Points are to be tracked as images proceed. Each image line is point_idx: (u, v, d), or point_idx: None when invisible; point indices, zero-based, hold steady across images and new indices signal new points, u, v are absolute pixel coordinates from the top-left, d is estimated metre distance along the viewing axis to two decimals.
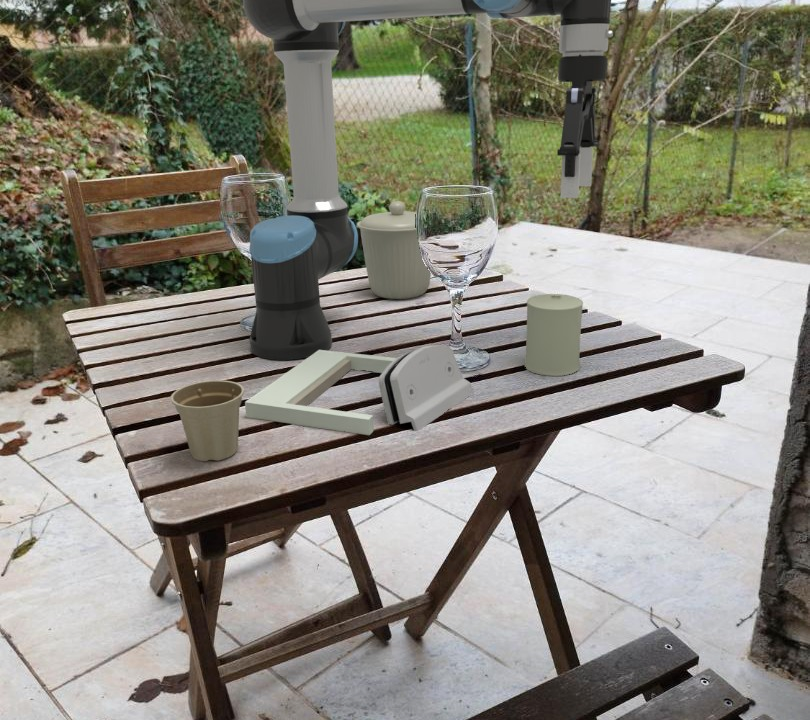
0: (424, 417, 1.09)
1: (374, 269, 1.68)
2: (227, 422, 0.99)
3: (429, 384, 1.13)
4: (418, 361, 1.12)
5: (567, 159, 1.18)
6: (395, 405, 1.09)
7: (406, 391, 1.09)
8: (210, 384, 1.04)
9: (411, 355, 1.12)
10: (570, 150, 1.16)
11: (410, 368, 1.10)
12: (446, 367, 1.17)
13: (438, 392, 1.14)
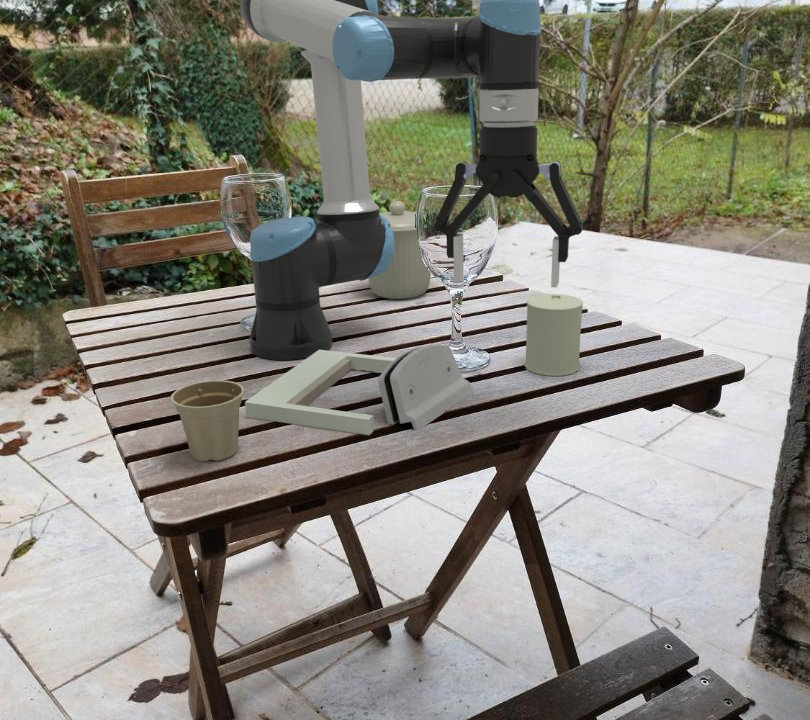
0: (424, 417, 1.09)
1: None
2: (227, 422, 0.99)
3: (429, 384, 1.13)
4: (418, 361, 1.12)
5: None
6: (395, 405, 1.09)
7: (406, 391, 1.09)
8: (210, 384, 1.04)
9: (411, 355, 1.12)
10: None
11: (409, 368, 1.10)
12: (445, 366, 1.17)
13: (438, 392, 1.15)
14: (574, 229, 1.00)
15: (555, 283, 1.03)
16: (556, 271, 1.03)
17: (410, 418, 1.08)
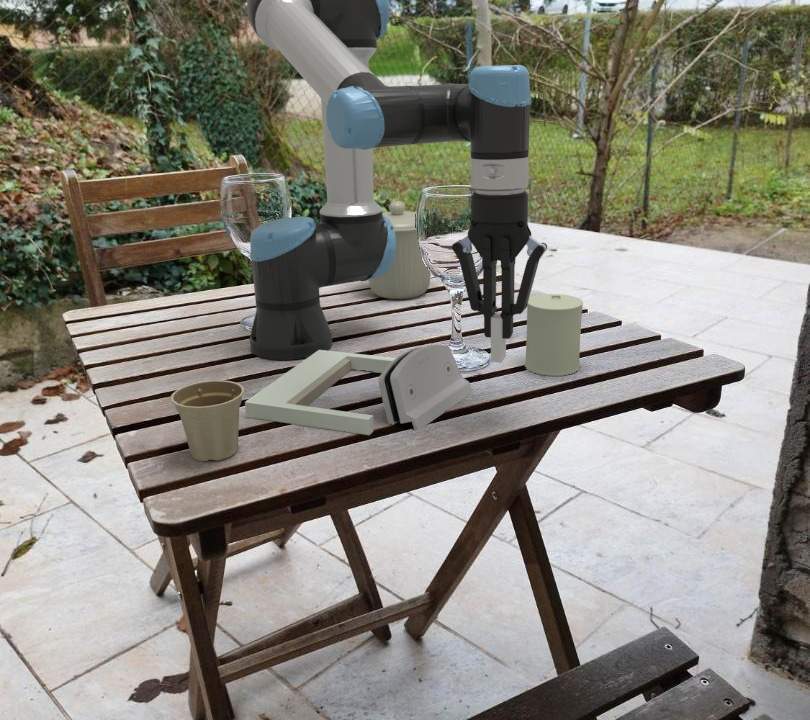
0: (424, 416, 1.09)
1: None
2: (227, 422, 0.99)
3: (429, 384, 1.13)
4: (418, 361, 1.12)
5: None
6: (395, 405, 1.09)
7: (406, 391, 1.09)
8: (210, 384, 1.04)
9: (411, 355, 1.12)
10: None
11: (409, 368, 1.10)
12: (445, 366, 1.17)
13: (438, 392, 1.15)
14: (517, 307, 1.04)
15: (499, 358, 1.07)
16: (500, 347, 1.06)
17: (410, 418, 1.08)
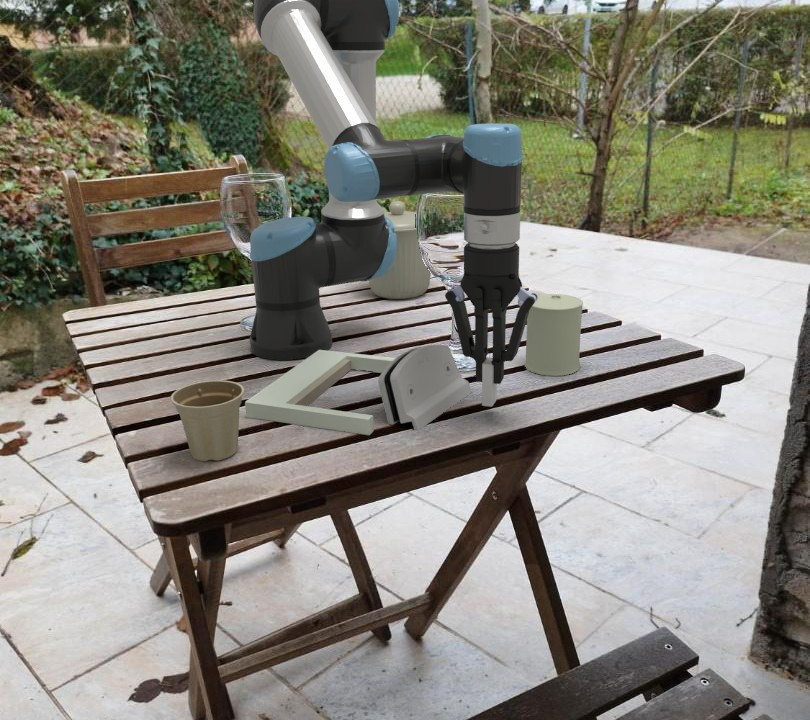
0: (424, 416, 1.09)
1: None
2: (227, 422, 0.99)
3: (428, 384, 1.13)
4: (417, 361, 1.12)
5: None
6: (395, 405, 1.09)
7: (406, 391, 1.09)
8: (210, 384, 1.04)
9: (410, 355, 1.12)
10: None
11: (409, 368, 1.10)
12: (444, 366, 1.17)
13: (437, 392, 1.15)
14: (507, 355, 1.07)
15: (490, 403, 1.10)
16: (491, 392, 1.10)
17: (410, 418, 1.08)
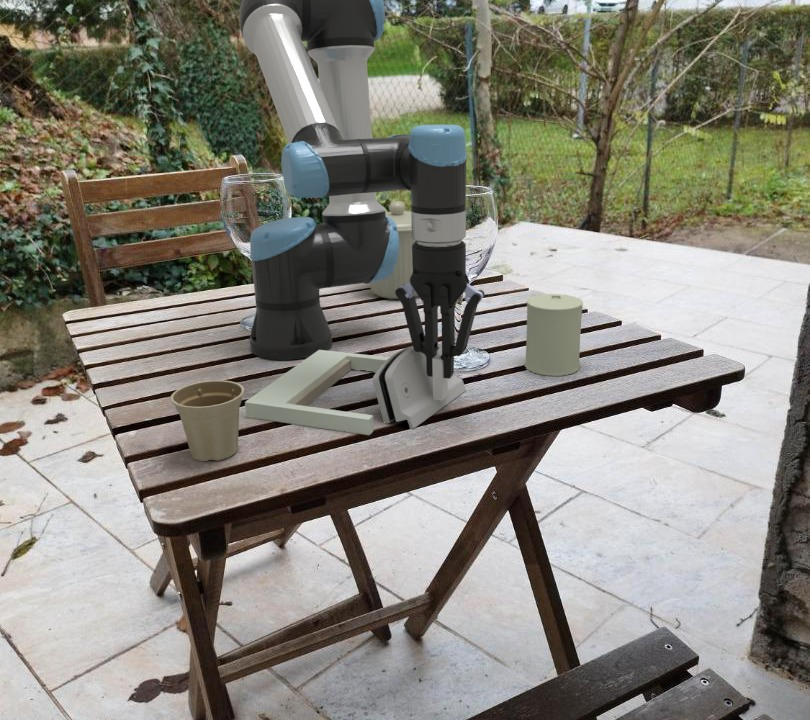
0: (419, 414, 1.10)
1: None
2: (227, 422, 0.99)
3: (423, 382, 1.14)
4: (411, 359, 1.13)
5: None
6: (390, 403, 1.09)
7: (401, 389, 1.09)
8: (210, 384, 1.04)
9: (404, 353, 1.12)
10: None
11: (404, 367, 1.11)
12: None
13: (432, 390, 1.15)
14: (456, 350, 1.10)
15: (441, 397, 1.13)
16: (441, 386, 1.12)
17: (406, 416, 1.08)
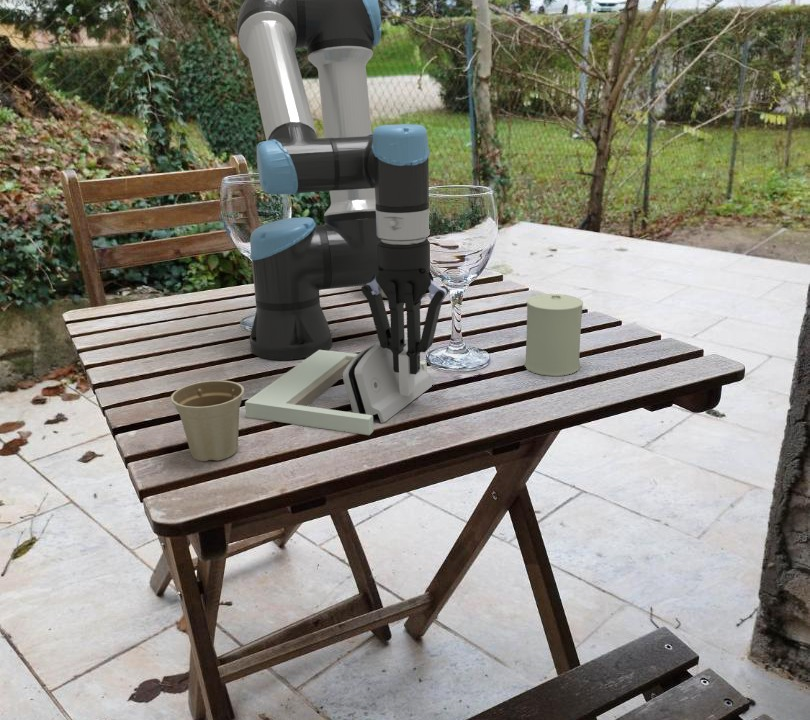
0: (389, 408, 1.12)
1: None
2: (227, 422, 0.99)
3: (392, 377, 1.16)
4: (380, 355, 1.15)
5: None
6: (361, 399, 1.11)
7: (371, 384, 1.11)
8: (210, 384, 1.04)
9: (373, 349, 1.14)
10: None
11: (372, 362, 1.13)
12: None
13: None
14: (421, 346, 1.11)
15: (407, 392, 1.15)
16: (408, 382, 1.14)
17: (376, 410, 1.10)
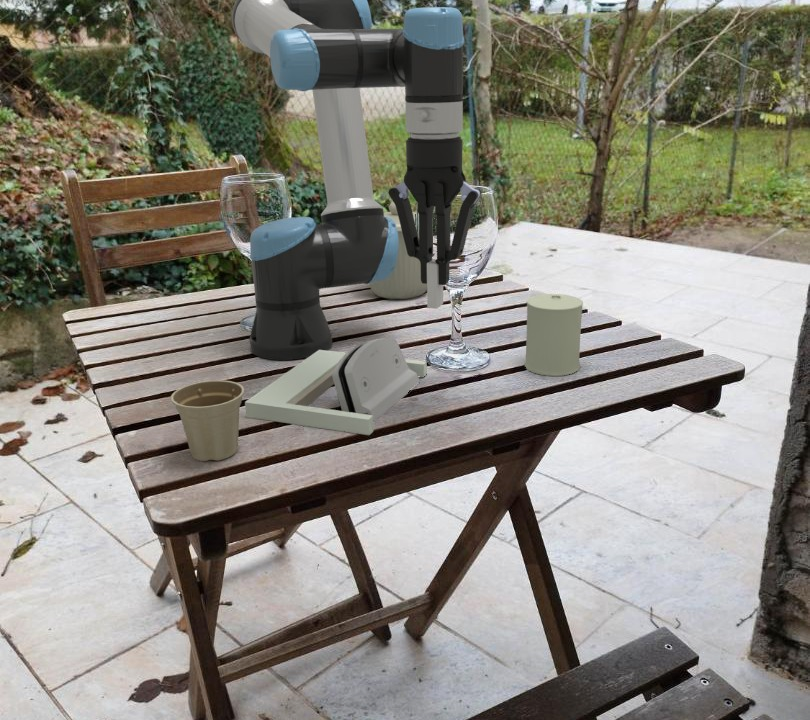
0: (379, 407, 1.13)
1: None
2: (227, 422, 0.99)
3: (380, 376, 1.17)
4: (369, 354, 1.15)
5: None
6: (350, 398, 1.12)
7: (360, 383, 1.12)
8: (210, 384, 1.04)
9: (362, 349, 1.15)
10: None
11: (362, 361, 1.13)
12: (393, 358, 1.21)
13: (388, 384, 1.18)
14: (452, 253, 1.05)
15: (435, 304, 1.08)
16: (436, 293, 1.08)
17: (366, 409, 1.11)
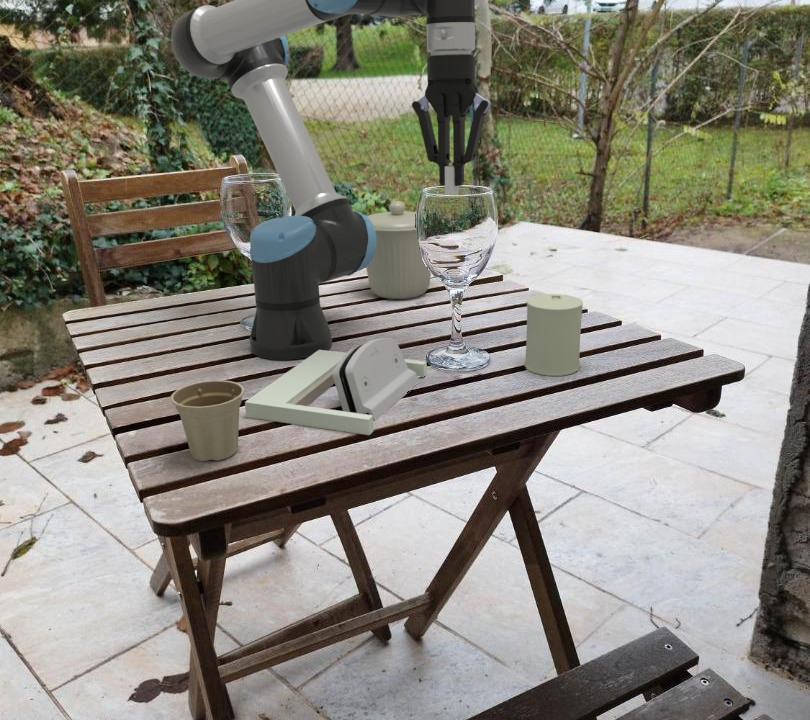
0: (380, 407, 1.13)
1: (374, 269, 1.68)
2: (227, 422, 0.99)
3: (380, 376, 1.17)
4: (369, 354, 1.15)
5: None
6: (351, 397, 1.12)
7: (361, 383, 1.12)
8: (210, 384, 1.04)
9: (362, 348, 1.15)
10: None
11: (362, 361, 1.13)
12: (393, 358, 1.21)
13: (388, 383, 1.18)
14: (466, 156, 1.23)
15: None
16: (453, 193, 1.25)
17: (367, 409, 1.11)
